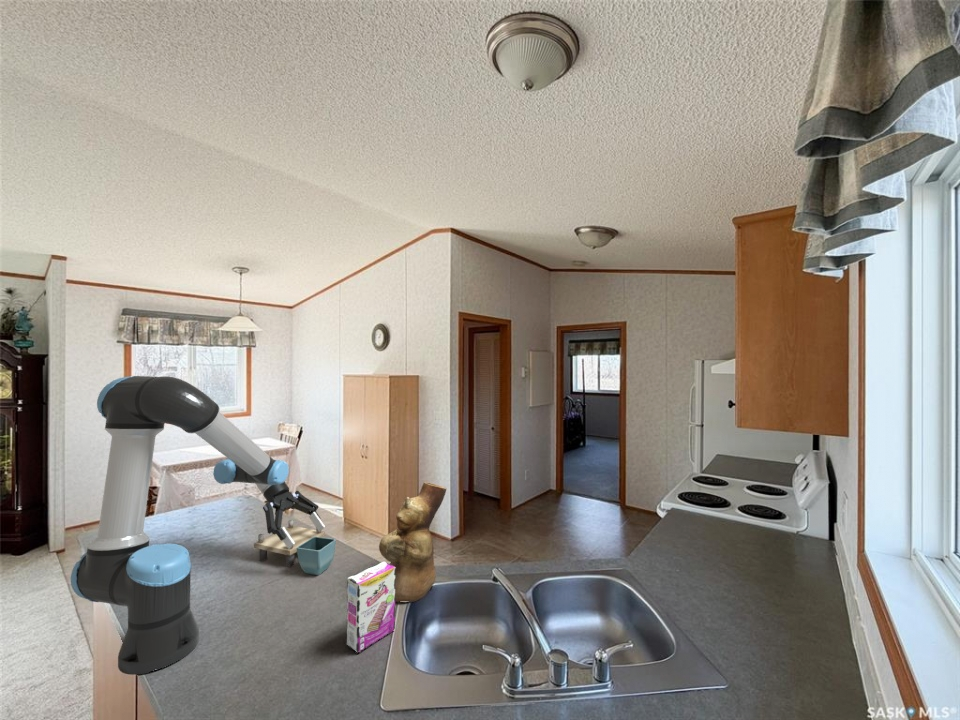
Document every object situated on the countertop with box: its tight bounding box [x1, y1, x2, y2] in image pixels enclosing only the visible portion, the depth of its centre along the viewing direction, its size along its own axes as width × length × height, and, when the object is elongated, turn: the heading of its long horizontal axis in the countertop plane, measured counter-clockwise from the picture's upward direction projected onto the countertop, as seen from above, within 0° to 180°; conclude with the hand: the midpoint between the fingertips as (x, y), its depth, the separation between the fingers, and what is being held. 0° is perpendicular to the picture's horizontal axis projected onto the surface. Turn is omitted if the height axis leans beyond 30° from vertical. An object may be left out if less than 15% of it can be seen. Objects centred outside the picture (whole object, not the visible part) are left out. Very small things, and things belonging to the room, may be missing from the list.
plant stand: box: [253, 519, 326, 568], centre depth 146 cm, size 16×16×8 cm
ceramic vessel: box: [378, 481, 447, 604], centre depth 126 cm, size 16×22×30 cm
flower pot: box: [296, 537, 337, 576], centre depth 135 cm, size 9×9×9 cm
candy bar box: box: [346, 561, 396, 653], centre depth 102 cm, size 11×5×16 cm, turn 141°
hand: (307, 537), depth 138 cm, fingers open, 13 cm apart
